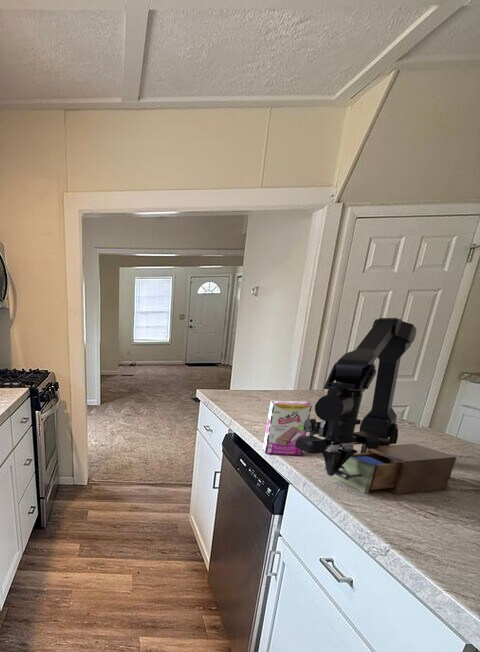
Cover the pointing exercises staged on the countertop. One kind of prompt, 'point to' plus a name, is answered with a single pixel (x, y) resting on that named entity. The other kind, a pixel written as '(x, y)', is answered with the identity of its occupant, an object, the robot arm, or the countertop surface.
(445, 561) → the countertop surface
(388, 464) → the drawer
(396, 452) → the cabinet
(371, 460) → the block
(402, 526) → the countertop surface
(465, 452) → the countertop surface
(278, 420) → the candy bar box
